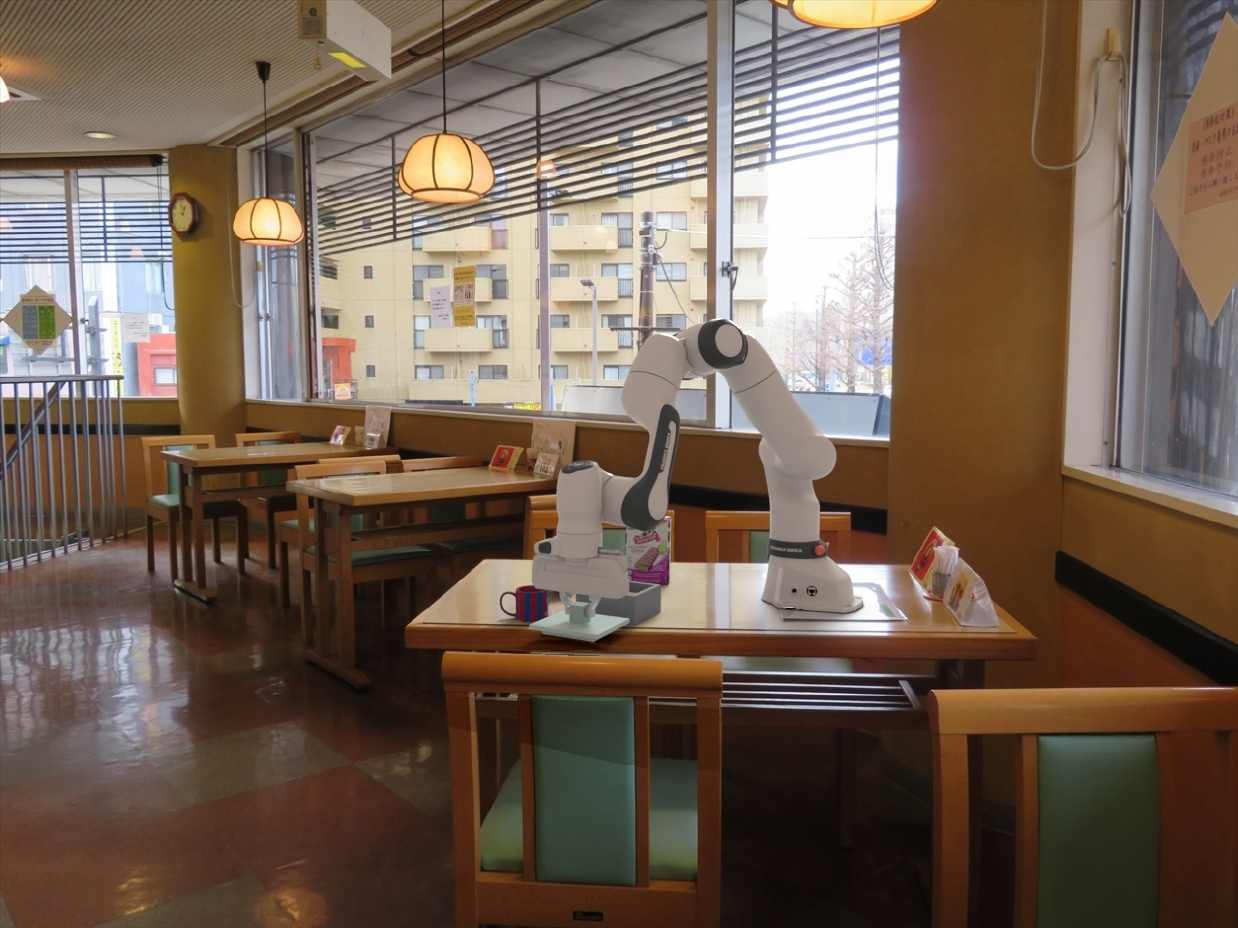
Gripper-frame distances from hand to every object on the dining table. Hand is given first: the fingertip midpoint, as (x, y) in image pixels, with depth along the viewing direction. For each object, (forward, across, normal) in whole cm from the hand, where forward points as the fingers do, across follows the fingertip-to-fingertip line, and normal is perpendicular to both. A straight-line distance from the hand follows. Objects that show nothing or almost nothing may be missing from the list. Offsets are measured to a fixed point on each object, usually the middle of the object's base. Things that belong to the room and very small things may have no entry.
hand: (580, 615), depth 184 cm
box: (+5, +1, -18) cm, 19 cm away
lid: (+3, 0, 0) cm, 3 cm away
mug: (+5, +17, -6) cm, 19 cm away
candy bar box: (+5, +10, -50) cm, 51 cm away
